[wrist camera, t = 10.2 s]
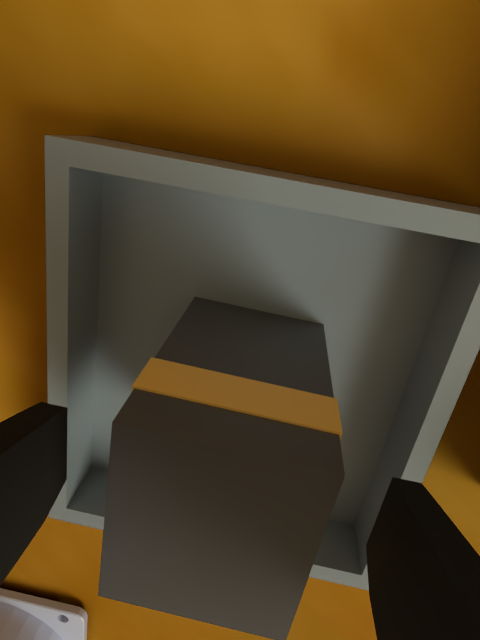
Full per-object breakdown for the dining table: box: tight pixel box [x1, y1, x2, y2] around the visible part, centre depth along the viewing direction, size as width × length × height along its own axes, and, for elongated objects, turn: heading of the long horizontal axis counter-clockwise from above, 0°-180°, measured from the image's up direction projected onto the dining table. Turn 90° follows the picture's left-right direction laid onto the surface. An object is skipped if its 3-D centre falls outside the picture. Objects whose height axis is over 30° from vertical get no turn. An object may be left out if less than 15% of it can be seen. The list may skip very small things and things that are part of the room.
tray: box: [44, 135, 480, 590], centre depth 13 cm, size 11×12×2 cm
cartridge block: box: [98, 297, 345, 640], centre depth 11 cm, size 4×5×6 cm
